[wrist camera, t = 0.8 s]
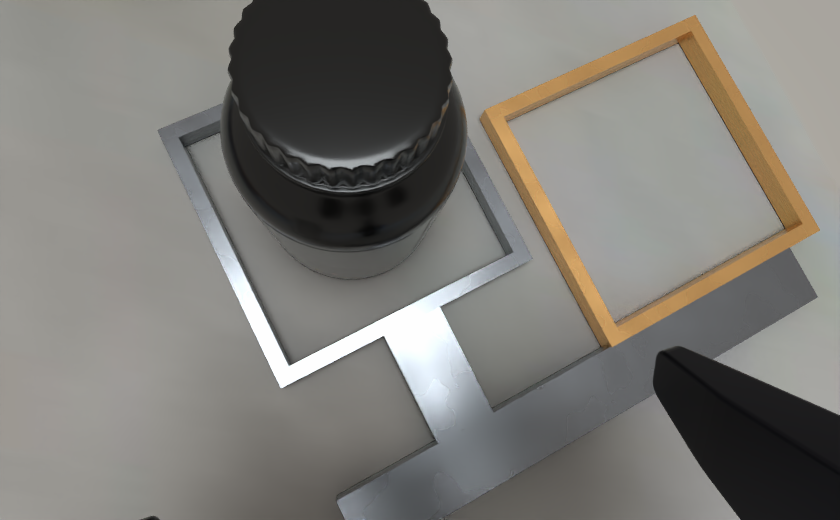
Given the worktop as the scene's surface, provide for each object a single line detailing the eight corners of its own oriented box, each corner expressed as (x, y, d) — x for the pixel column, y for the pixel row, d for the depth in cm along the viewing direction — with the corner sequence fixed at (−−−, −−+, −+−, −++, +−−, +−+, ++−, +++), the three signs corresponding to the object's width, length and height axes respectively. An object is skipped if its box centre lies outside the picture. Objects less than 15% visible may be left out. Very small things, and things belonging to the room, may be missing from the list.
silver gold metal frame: (830, 282, 26) (849, 280, 25) (365, 555, 21) (365, 565, 20) (634, -56, 27) (645, -71, 26) (165, 139, 23) (157, 130, 22)
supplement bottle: (302, 101, 24) (254, -135, 12) (451, 158, 24) (544, -19, 13) (240, 250, 23) (119, 146, 11) (398, 306, 23) (447, 265, 11)
